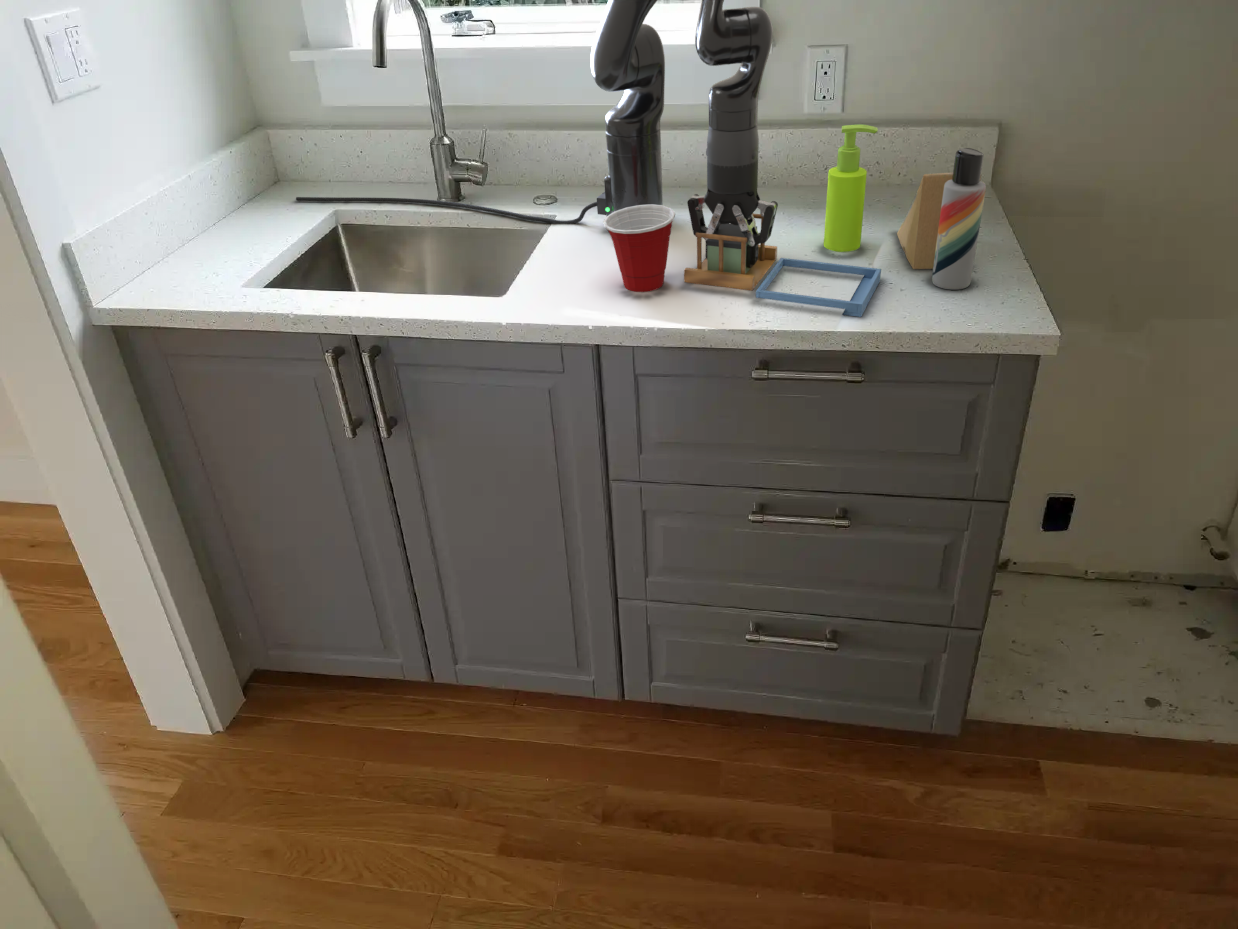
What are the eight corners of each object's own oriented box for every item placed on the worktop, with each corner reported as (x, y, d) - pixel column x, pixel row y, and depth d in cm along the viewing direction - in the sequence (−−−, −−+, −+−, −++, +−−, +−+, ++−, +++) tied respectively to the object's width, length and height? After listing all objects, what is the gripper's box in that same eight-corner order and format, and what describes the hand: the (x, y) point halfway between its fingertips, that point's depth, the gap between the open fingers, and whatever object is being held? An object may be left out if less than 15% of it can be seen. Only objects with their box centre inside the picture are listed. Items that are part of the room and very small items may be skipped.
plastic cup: (608, 276, 156) (604, 203, 150) (676, 274, 156) (674, 200, 149) (606, 305, 147) (601, 229, 141) (677, 303, 147) (676, 226, 140)
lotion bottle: (926, 276, 150) (943, 145, 138) (962, 273, 150) (982, 142, 139) (939, 291, 145) (958, 157, 134) (976, 288, 145) (998, 153, 134)
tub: (706, 277, 152) (705, 240, 148) (722, 258, 157) (722, 222, 154) (741, 281, 150) (741, 244, 146) (756, 262, 155) (757, 226, 152)
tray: (755, 303, 145) (755, 290, 144) (780, 269, 155) (780, 257, 154) (861, 317, 140) (862, 304, 138) (879, 280, 149) (881, 268, 148)
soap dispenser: (866, 257, 157) (878, 131, 146) (822, 256, 158) (831, 131, 147) (866, 244, 162) (877, 120, 150) (823, 243, 163) (831, 120, 152)
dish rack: (684, 287, 151) (683, 234, 146) (712, 256, 161) (712, 206, 156) (752, 296, 147) (753, 242, 142) (776, 264, 157) (778, 212, 152)
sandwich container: (947, 231, 164) (960, 141, 156) (968, 268, 152) (983, 172, 143) (895, 233, 165) (905, 143, 156) (911, 269, 152) (923, 174, 144)
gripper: (787, 152, 144) (782, 260, 153) (695, 145, 149) (696, 250, 158) (772, 167, 138) (768, 278, 148) (677, 160, 143) (680, 268, 153)
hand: (731, 263), depth 153 cm, fingers closed on tub, 5 cm apart
